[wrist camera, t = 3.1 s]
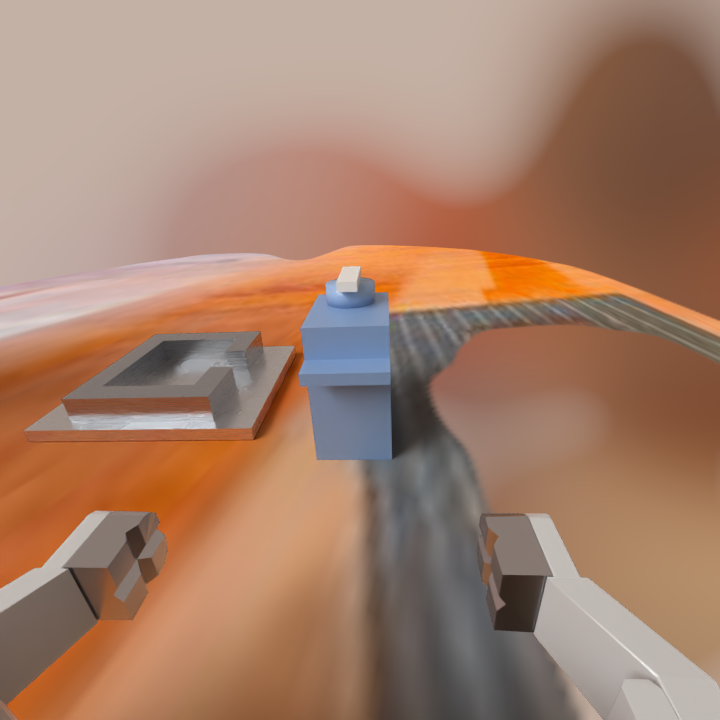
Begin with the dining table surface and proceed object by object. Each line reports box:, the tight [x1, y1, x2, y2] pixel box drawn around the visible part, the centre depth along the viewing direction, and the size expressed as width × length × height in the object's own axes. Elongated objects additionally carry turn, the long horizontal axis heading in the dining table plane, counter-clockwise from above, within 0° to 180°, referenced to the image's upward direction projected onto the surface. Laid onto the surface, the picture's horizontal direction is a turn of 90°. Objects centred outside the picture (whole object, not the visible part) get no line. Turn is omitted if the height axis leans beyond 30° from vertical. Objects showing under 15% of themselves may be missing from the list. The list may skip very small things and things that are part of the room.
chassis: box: [24, 331, 296, 442], centre depth 28 cm, size 14×12×2 cm
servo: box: [298, 266, 392, 460], centre depth 21 cm, size 4×8×9 cm, turn 177°
